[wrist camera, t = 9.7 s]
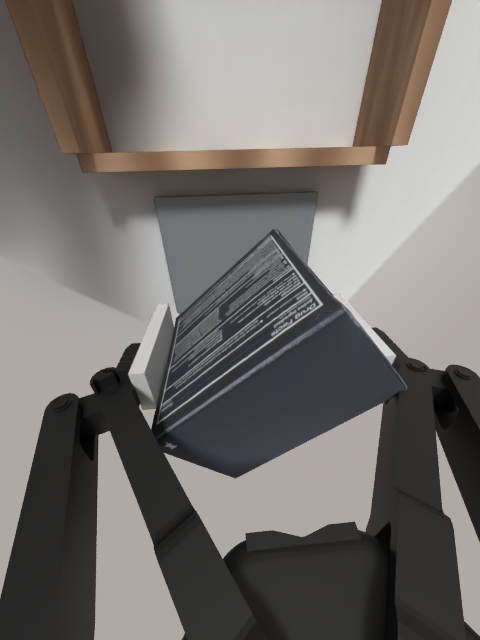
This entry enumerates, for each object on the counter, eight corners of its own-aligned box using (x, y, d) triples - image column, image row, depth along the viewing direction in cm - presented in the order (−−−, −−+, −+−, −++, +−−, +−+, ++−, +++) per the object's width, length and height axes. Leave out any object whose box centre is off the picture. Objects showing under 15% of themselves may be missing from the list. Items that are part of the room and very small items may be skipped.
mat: (177, 310, 30) (177, 312, 30) (155, 197, 23) (153, 198, 22) (299, 302, 31) (301, 305, 31) (315, 191, 24) (317, 192, 23)
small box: (229, 358, 22) (235, 485, 13) (173, 318, 19) (136, 448, 10) (325, 286, 19) (417, 397, 10) (274, 223, 16) (344, 302, 7)
